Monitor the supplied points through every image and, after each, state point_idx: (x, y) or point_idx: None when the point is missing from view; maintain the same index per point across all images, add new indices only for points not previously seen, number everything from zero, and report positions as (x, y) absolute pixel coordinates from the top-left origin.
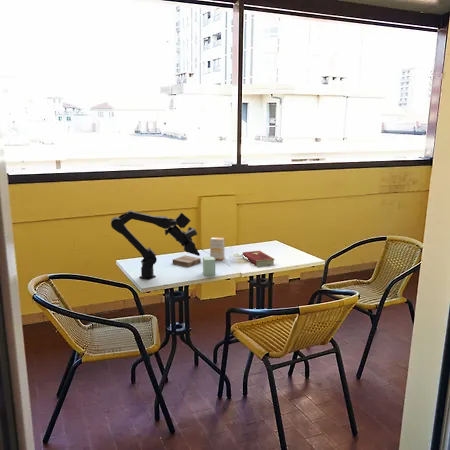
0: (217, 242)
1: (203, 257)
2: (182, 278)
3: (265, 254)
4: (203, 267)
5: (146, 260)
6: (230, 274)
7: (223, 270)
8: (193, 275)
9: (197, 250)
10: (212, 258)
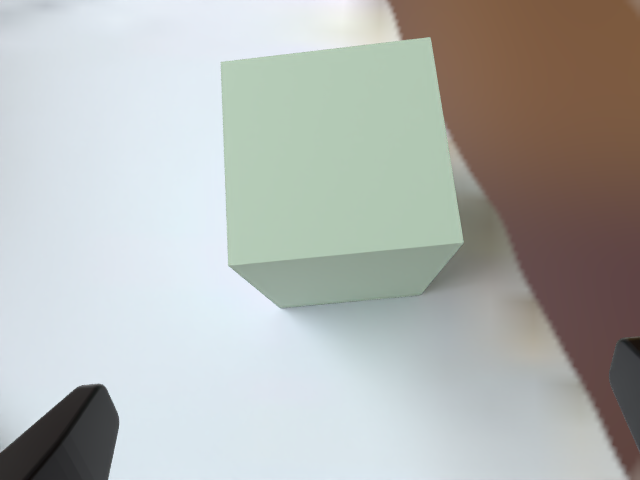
0: None
1: (259, 255)
2: None
3: None
4: (318, 291)
5: None
6: (384, 5)
7: None
8: (403, 449)
9: (106, 392)
10: (350, 85)
